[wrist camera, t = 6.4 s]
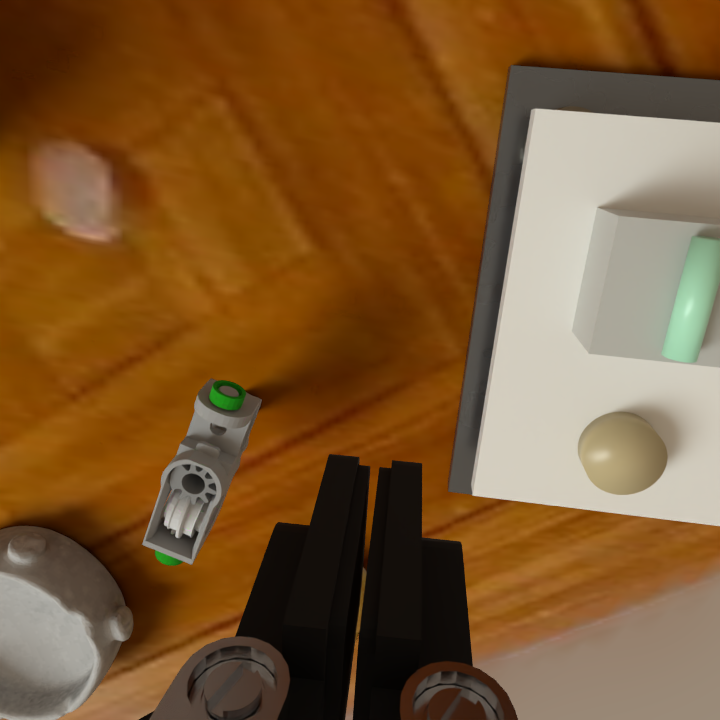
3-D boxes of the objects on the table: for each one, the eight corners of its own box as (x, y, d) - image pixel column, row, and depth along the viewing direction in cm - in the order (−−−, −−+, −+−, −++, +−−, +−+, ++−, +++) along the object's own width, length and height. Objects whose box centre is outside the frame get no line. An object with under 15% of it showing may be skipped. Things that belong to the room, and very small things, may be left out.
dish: (39, 689, 50) (-2, 746, 45) (-76, 560, 46) (-133, 608, 42) (179, 631, 46) (151, 688, 41) (65, 487, 43) (20, 530, 38)
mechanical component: (298, 341, 37) (253, 411, 27) (245, 475, 40) (189, 578, 31) (252, 321, 37) (191, 385, 27) (203, 458, 40) (135, 555, 31)
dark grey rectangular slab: (508, 67, 31) (516, 60, 28) (845, 92, 29) (885, 87, 27) (447, 482, 39) (449, 507, 36) (707, 514, 38) (728, 543, 35)
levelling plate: (531, 109, 28) (557, 101, 23) (848, 134, 27) (959, 132, 22) (471, 484, 35) (479, 550, 30) (723, 514, 34) (782, 589, 28)
